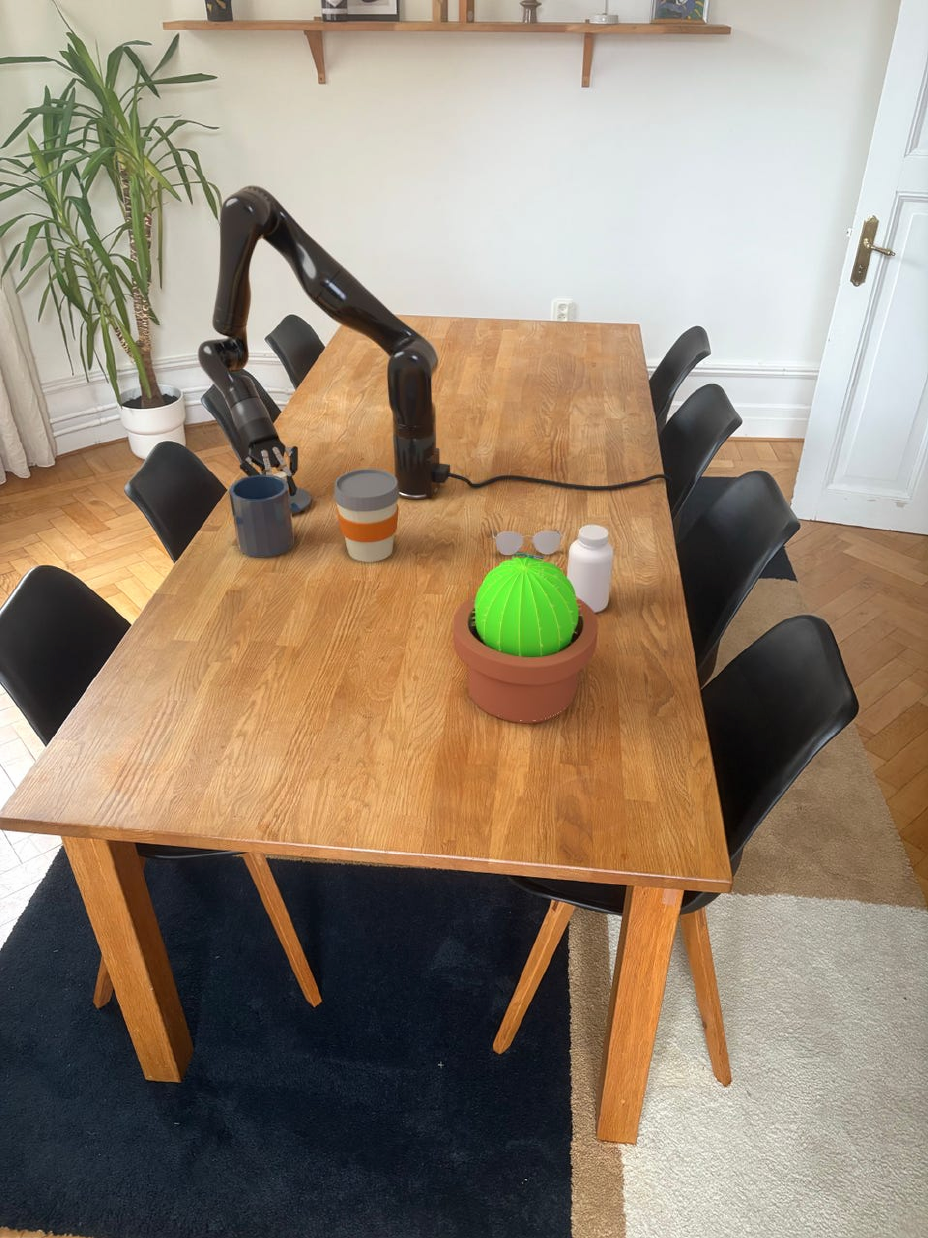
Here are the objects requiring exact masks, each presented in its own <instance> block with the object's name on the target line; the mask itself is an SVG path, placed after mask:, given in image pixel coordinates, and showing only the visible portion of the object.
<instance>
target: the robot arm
mask: <svg viewBox="0 0 928 1238" xmlns="http://www.w3.org/2000/svg"><path fill="white" fill-rule="evenodd" d="M260 240H263V241H265V242H266V243H267V244H269V245H270V246H271V247H272V248H273V249H274V250H276V251H277V252H278V253H279V254H280V256H282V257H283V259H284V260H285V261H286V262H287V264H288V265H289V267H290V268H291V271H292V273H293V274H294V276H295V278H296V280H297V282H298V284H299V285H300V287H301V289H302V290H303V292H304V294H305V295H306V296H307V297H308V299H309V300H311V302H312V303H314V305H316V306H317V308H319V309H320V310H321V311H322V312H323V313H325V314H326V315H327V316H328V317H329V318H330V319H332V320H333V321H334V322H336V323H338V324H340V325H341V326H344V327H345V328H347V329H349V330H351V331H354V332H356V333H358V334H361V335H363V336H365V337H367V338H368V339H369V340H371V341H373V342H374V343H375V344H376V345H377V346H378V347H379V348H380V349H381V350H382V351H384V352H385V354H386V355H387V356H388V357H389V359H388V361H387V367H386V379H387V380H386V381H387V394H388V395H387V397H388V405H389V408H390V410H391V416H392V417H391V419H392V441H393V467H394V476H395V477H396V479H397V482H398V488H399V497H401V498H404V499H407V500H424V499H430V500H431V499H433V497H434V496H435V495H436V493H437V492H438V490H439V489H440V488H441V484H445V483H446V482H447V481H448V479H449V478H451V479H456V480H460V481H461V482H464V483H466V484H467V485H468V486H469V487H470V488H475V489H478V488H482V487H484V486H487V485H490V484H492V483H494V482H497V481H501V480H518V481H519V480H521V481H527V482H533V483H539V484H545V485H552V486H555V487H564V488H568V489H569V488H570V489H578V490H579V489H580V490H588V491H589V490H592V491H605V490H606V491H607V490H608V491H609V490H617V489H623V488H627V487H630V486H631V487H632V486H636V485H642V484H644V483H648V482H650V481H653V480H656V479H664V480H666V481H667V482H672V481H673V479H672V478H671V477H670V476H669V475H668V474H664V473H658V474H653V475H650V476H648V477H645V478H642V479H638V480H633V481H628V482H624V483H623V482H622V483H618V484H611V485H585V484H575V483H568V482H561V481H555V480H551V479H545V478H544V479H543V478H537V477H529V476H523V475H517V474H516V475H515V474H505V475H498V476H494V477H492V478H489V479H488V480H485V481H483V482H480V483H479V482H478V483H473V482H472V481H471V480H470V479H469V478H467V477H466V476H463V475H460V474H456V473H452V472H451V465H450V464H447V463H440V461H441V460H440V459H441V458H440V448H439V447H437V408H436V405H435V403H434V401H433V389H432V388H433V387H432V378H433V377H434V375H435V373H436V371H437V370H438V368H439V355H438V353H437V350H436V348H435V347H434V345H433V344H432V343H431V342H430V341H429V340H427V339H426V338H425V337H424V336H423V335H422V334H420V333H419V332H417V331H416V330H415V329H414V328H412V327H411V326H410V325H408V324H406V323H405V322H404V321H403V320H401V319H400V318H399V317H397V316H396V315H395V314H394V313H393V312H392V311H391V310H389V309H388V307H387V306H386V305H384V304H383V302H381V301H380V299H379V298H378V297H376V296H375V295H374V294H373V293H372V292H371V291H370V290H369V289H368V288H367V287H365V285H363V283H362V282H360V280H358V279H357V277H355V275H353V274H352V273H351V272H350V271H349V270H348V269H347V268H345V267H344V266H343V264H342V263H340V262H339V261H338V260H336V259H335V258H334V257H333V256H332V255H331V254H330V253H329V252H328V251H327V250H325V248H324V247H323V246H322V245H320V243H319V242H318V241H316V240H315V239H314V238H313V237H312V236H310V234H309V233H308V232H307V231H305V229H304V228H303V227H302V226H301V225H300V224H299V223H298V222H297V221H296V219H294V217H292V215H291V214H290V213H289V212H288V210H287V209H285V207H284V205H282V204H281V203H280V202H279V200H277V198H276V197H275V196H274V195H273V194H272V193H271V192H269V191H268V190H266V189H265V188H263V187H261V186H259V185H255V184H253V185H246V186H243V187H242V188H240V189H238V190H237V191H235V192H234V193H232V194H231V195H229V196H228V197H227V198H226V199H225V200H224V201H223V203H222V205H221V208H220V214H219V269H218V270H219V271H218V282H217V288H216V289H217V290H216V295H215V302H214V306H213V314H212V321H211V323H212V328H213V329H214V330H215V332H217V333H218V334H219V335H221V336H224V337H226V338H216V339H208V340H204V341H203V342H201V344H199V347H198V350H197V358H198V362H199V365H200V367H201V369H202V371H203V373H205V375H206V376H207V377H208V378H209V380H210V381H211V382H212V384H213V385H214V386H215V388H216V389H218V391H219V392H220V393H221V395H222V396H223V399H224V400H225V402H226V405H227V407H228V409H229V411H230V414H231V418H232V421H233V423H234V427H235V429H236V431H237V432H238V436H239V437H240V439H241V441H242V444H243V446H244V448H245V450H246V451H247V456H246V458H245V459H243V460H242V461H241V462H240V464H239V469H240V470H241V471H242V472H243V473H244V474H245V475H246V476H247V477H248V476H253V475H273V473H272V472H273V471H272V468H275V470H276V472H280V471H281V472H285V473H286V474H287V483H288V486H289V494H290V496H294V495H295V494H296V491H297V488H298V487H297V485H296V483H295V480H294V479H293V476H295V475H296V473H297V471H298V469H299V446H297V445H292V446H286V445H285V443H283V442H282V441H281V439H280V436H279V434H278V432H277V429H276V427H275V425H274V422H273V420H272V418H271V416H270V414H269V411H268V409H267V407H266V405H265V404H264V402H263V400H262V399H261V396H260V394H259V392H258V390H257V387H256V385H255V383H254V381H253V380H252V379H251V377H249V376H247V375H241V374H236V373H234V372H239V371H242V370H243V369H244V368H245V367H246V366H247V364H248V362H249V359H250V351H249V344H248V333H247V325H248V321H249V316H250V309H251V304H252V287H251V280H250V279H251V278H250V269H251V263H252V258H253V254H254V252H255V249H256V247H257V244H258V243H259V241H260ZM285 454H286V456H287V458H289V463H288V464H289V466H288V464H287V462H286V460H285V458H284V457H285ZM254 466H257V467H258V468H259V469H260V471H258V470H257V469H256V468H255V467H254Z"/></svg>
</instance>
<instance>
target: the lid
mask: <svg viewBox="0 0 928 1238" xmlns="http://www.w3.org/2000/svg"><path fill="white" fill-rule="evenodd" d="M272 475H273V476H278V477H280V478H282V479H284V480H285V481H286V482H287V474H286V473H285V472H281V471H280V472H278V471H276V472H274V473H272ZM289 495H290V494H289ZM290 503H291V512H292V515H295V514H298V513H300V512H302V511H304V510H306V509H307V508H309V506H310V505H311V503H312V496H311V493H310V492H309V491H307V490H305V489H304V488H301V487H297V491H296V494H295V495H294V496H290Z"/></svg>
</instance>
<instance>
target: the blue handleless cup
mask: <svg viewBox="0 0 928 1238" xmlns="http://www.w3.org/2000/svg"><path fill="white" fill-rule="evenodd" d="M228 492H229V493H228V494H229V500H230V505H231V513H232V519H233V524H234V525H233V526H234V531H235V539H236V544H237V547H238V549H239V551H240V553H242V554H243V555H245V556H248V557H251V558H259V559H263V558H264V559H265V558H272V557H277V556H280V555H283V554H285V553H287V552H288V551H290V550H291V549H292V548H293V547H294V545H295V531H294V522H293V514H292V512H291V503H290V495H289V486H288V483H287V482H286V481H285V480H284V479H282V478H280V477H278V476H273V474H272V475H262V474H261V475H253V476H248V475H247V476H245V477H242V478H239V479H237V480H236V481H234V482H233V483H232V484H231V485H230V486H229V491H228Z"/></svg>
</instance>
